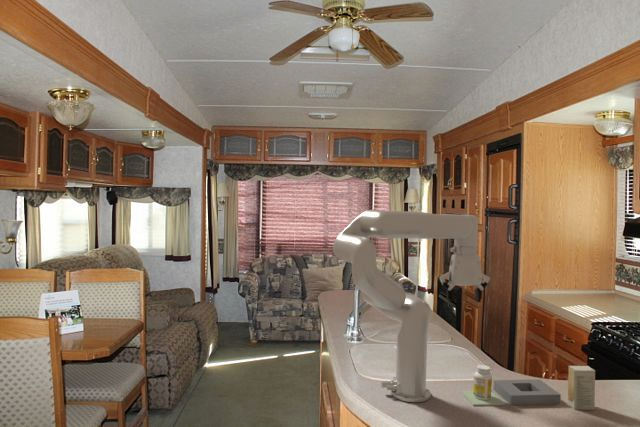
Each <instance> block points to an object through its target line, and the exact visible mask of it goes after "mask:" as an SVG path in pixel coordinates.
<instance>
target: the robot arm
mask: <svg viewBox="0 0 640 427" xmlns="http://www.w3.org/2000/svg"><path fill="white" fill-rule="evenodd" d="M478 231H479V218H478V216H477V215H474V214H455V213H454V214H452V213H450V214H449V213H441V214H440V213H439V214H438V213H430V212H423V211H411V210H410V211H407V210H406V211H404V210H403V211H402V210H379V209H376V210H375V209H367V210H365V211H363V212H362V213H361V214H359V215H358V216H357V217H356V218H355V219H354V220H352V221H351V223H350V224H348V225H347V226H346V227H345V228H344V229H343V230H342V231H341V232H340V233H339V234H338V235H337V237H336V238H335V239H334V242H333V245H332V250H333V254H334V255H335V257H336V258H337V259H339V260H341V261H342V262H346V263H351V276H352V277H351V278H352V281H353V284H354V285H355V287H357V289H358V290H360V294H361V296H362V299H363V300H364V301H365V302H366V303H367V304H368V305H370V306H371V307H373V308H374V309H375V310H377V312H379V313H381V314H383V315H384V316H385V317H387V318H389V319H391V320H393V321H395V322H398V323H400V324H401V326H400V329H399V331H398V333H397V336H396V361H395V363H396V364H395V376H394V377H393V379H392V380H390V381H387V380H386V381H383V380H382V381H380V387H381V389H383V388H385V389H386V390H387V391H390V395H391V396H393V398H395V399H397V400H399V401H403V402H409V403H422V402H423V403H424V402H426V401H428V400H430V398H431V396H432V395H431V394H432V392H431V390H430V389H429V388H428V387H427V360H428V357H427V356H428V333H429V327H430V322H431V317H432V309H431V307H430V305H429V304H428V303H427V302H426V300H424V299H422V298H421V297H419V296H415V295H412V294H408V293H406V291H405V290H404V287H402V285H401V284H400V283H398V282H397V281H395V280H394V279H392V277H390V276H388V275H387V274H385V273H384V272H383V270H381V269H380V268H379V267H378V265H377V264H378V263H377V257H378V256H377V255H378V254H377V253H378V251H377V248H376V245H375V244H374V241H372V240H371V239H370V238H371V237H372V238H378V239H419V240H427V239H429V240H430V239H437V240H438V239H444V240H446V239H448V240H449V239H452V240H453V241H454V244H453V246H452V247H450V248H449V251H450V252H452V253H453V254H451V257H450V261H449V270H448V271H447V272H446V273H444V274H442V275H440V276H439V277H438V278H439V280H440V283H441V285H442V286H443V287H444V288H445V290H446V300H447V301H448V302H449V303H453V302H454V290H453V288H455V287H456V286H460V287H461V286H463V287H466V286H467V287H469V286H473V287H474V286H475V289H474V290H475V291H474V300H475V301H476V302H477V303H481V301H482V297H483V291H484V289H485V288H486V287H487V286H488V283H489V282H490V280H491V277H490V276H488V275H486V274H485V273H483V272H482V264H481V263H482V261H481V257H480V255H478V236H479V233H478ZM446 279H448V283H447V282H446ZM482 280H483V281H482Z"/></svg>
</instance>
